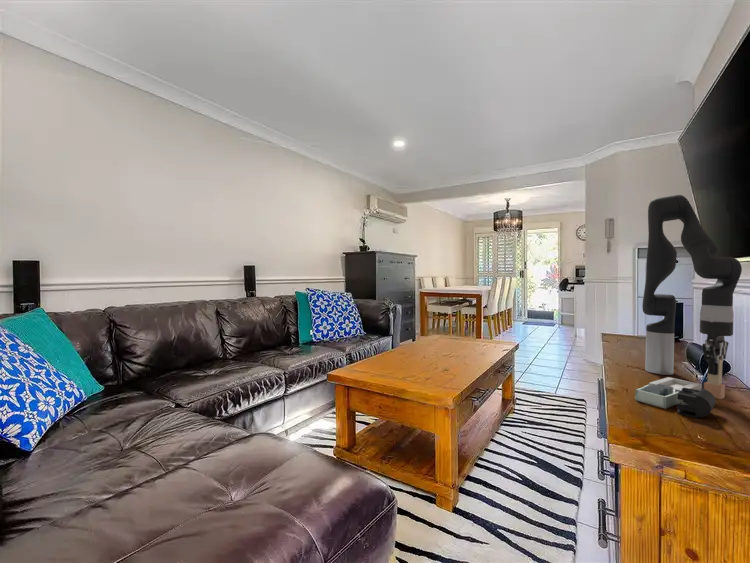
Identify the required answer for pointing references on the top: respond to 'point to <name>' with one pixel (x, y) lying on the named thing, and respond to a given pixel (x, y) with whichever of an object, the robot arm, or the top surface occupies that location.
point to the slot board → (677, 384)
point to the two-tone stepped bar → (716, 383)
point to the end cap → (695, 402)
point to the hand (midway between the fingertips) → (714, 373)
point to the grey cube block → (666, 389)
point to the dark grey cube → (655, 390)
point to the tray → (656, 398)
